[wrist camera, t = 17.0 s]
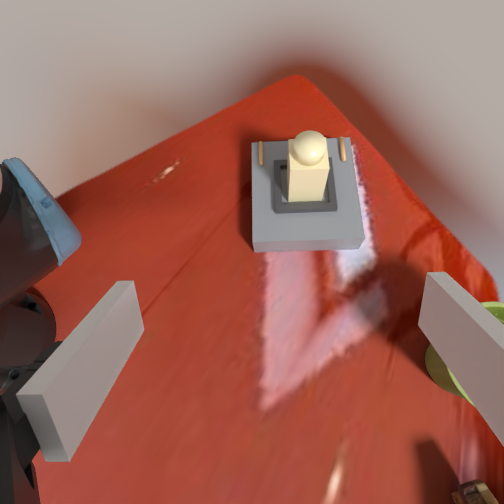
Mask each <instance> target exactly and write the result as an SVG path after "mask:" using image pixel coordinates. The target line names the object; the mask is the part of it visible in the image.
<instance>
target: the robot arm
mask: <svg viewBox="0 0 504 504" xmlns="http://www.w3.org/2000/svg"><path fill="white" fill-rule="evenodd" d="M81 242H82V237H81V233H80V232H79V230H78V229H77V227H76V226H75V224H74V223H73V222H72V220H71V219H70V218H69V217H68V215H67V214H66V213H65V211H64V210H63V209H62V208H61V206H60V205H59V204H58V203H57V201H56V200H55V199H54V198H53V196H52V195H51V194H50V193H49V192H48V190H47V189H46V188H45V187H44V185H43V184H42V183H41V182H40V181H39V179H38V178H37V177H36V176H35V175H34V174H33V172H32V171H31V170H30V169H29V168H28V167H27V165H26V164H25V163H24V162H22V161H21V160H20V159H19V158H11V159H9V160H8V159H7V160H4V161H3V162H2V164H0V504H40V498H39V491H38V485H37V478H36V472H35V467H34V465H33V463H32V459H33V458H34V456H35V455H36V453H37V452H38V450H39V449H40V450H41V452H42V454H43V457H44V459H45V461H47V462H70V460H71V458H72V456H73V455H74V453H75V451H76V449H77V448H78V446H79V444H80V442H81V441H82V439H83V437H84V435H85V434H86V432H87V430H88V428H89V427H90V425H91V423H92V421H93V420H94V418H95V416H96V414H97V413H98V411H99V409H100V407H101V405H102V404H103V402H104V400H105V398H106V397H107V395H108V393H109V391H110V390H111V388H112V386H113V384H114V383H115V381H116V379H117V377H118V376H119V374H120V372H121V370H122V369H123V367H124V365H125V363H126V362H127V360H128V358H129V356H130V354H131V353H132V351H133V349H134V347H135V346H136V344H137V342H138V340H139V339H140V337H141V335H142V333H143V332H144V326H143V321H142V317H141V312H140V308H139V303H138V299H137V294H136V290H135V285H134V281H117V282H116V283H115V284H114V285H113V286H112V288H111V289H110V290H109V291H108V292H107V293H106V294H105V295H104V297H103V298H102V299H101V300H100V301H99V302H98V303H97V304H96V305H95V307H94V308H93V309H92V310H91V311H90V312H89V313H88V314H87V316H86V317H85V318H84V319H83V320H82V321H81V322H80V323H79V324H78V326H77V327H76V328H75V329H74V330H73V331H72V332H71V333H70V335H69V336H68V337H67V338H66V339H65V340H64V341H57V342H55V343H54V341H55V335H56V323H55V318H54V315H53V312H52V310H51V308H50V307H49V305H48V304H47V303H46V302H45V301H44V300H43V299H42V298H40V297H39V296H37V295H34V294H32V293H29V292H26V290H27V289H29V288H30V287H31V286H33V285H34V284H35V283H37V282H38V281H39V280H41V279H42V278H43V277H45V276H46V275H48V274H49V273H50V272H52V271H53V270H54V269H56V268H57V267H59V266H61V265H62V264H63V261H65V260H66V259H67V258H68V257H69V256H70V255H71V254H73V253H74V252H75V251H76V250H77V249H78V248H79V247H80V245H81ZM418 326H419V327H420V329H421V330H422V331H423V333H424V334H425V336H426V337H427V339H428V340H429V341H430V343H431V344H432V346H433V347H434V348H435V350H436V351H437V353H438V354H439V356H440V357H441V358H442V360H443V361H444V363H445V364H446V366H447V367H448V368H449V370H450V371H451V373H452V374H453V375H454V377H455V378H456V380H457V381H458V383H459V384H460V385H461V387H462V388H463V390H464V391H465V392H466V394H467V395H468V397H469V398H470V400H471V401H472V402H473V404H474V405H475V407H476V408H477V410H478V411H479V412H480V414H481V415H482V417H483V418H484V419H485V421H486V422H487V424H488V425H489V427H490V428H491V429H492V431H493V432H494V434H495V435H496V436H497V438H498V439H499V441H500V442H501V444H502V445H503V446H504V324H502V323H501V322H500V321H499V320H498V319H497V318H496V317H495V316H494V315H493V314H491V313H490V312H489V311H488V310H487V309H486V308H485V307H484V306H483V305H481V304H480V303H479V302H478V301H477V300H476V299H475V298H474V297H473V296H471V295H470V294H469V293H468V292H467V291H466V290H465V289H464V288H463V287H461V286H460V285H459V284H458V283H457V282H456V281H455V280H454V279H453V278H451V277H450V276H449V275H448V274H447V273H446V272H427V275H426V281H425V287H424V293H423V298H422V304H421V310H420V316H419V322H418Z"/></svg>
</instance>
